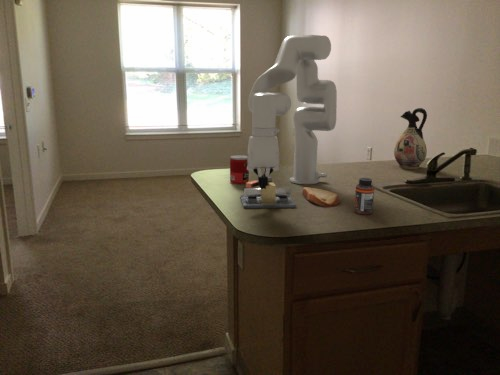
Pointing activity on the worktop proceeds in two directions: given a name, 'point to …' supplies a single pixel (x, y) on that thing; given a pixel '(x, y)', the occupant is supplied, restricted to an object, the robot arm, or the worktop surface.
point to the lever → (256, 183)
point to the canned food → (239, 169)
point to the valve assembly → (267, 197)
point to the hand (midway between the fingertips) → (262, 187)
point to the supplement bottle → (364, 196)
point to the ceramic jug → (411, 142)
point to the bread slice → (321, 197)
